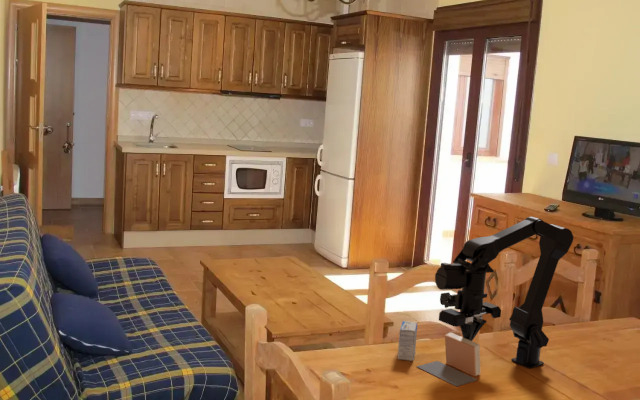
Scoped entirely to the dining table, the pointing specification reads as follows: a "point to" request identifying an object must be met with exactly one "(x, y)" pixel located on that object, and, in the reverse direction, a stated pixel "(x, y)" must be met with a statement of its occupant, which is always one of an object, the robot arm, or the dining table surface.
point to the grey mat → (447, 373)
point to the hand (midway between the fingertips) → (467, 344)
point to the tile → (462, 354)
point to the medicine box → (407, 340)
